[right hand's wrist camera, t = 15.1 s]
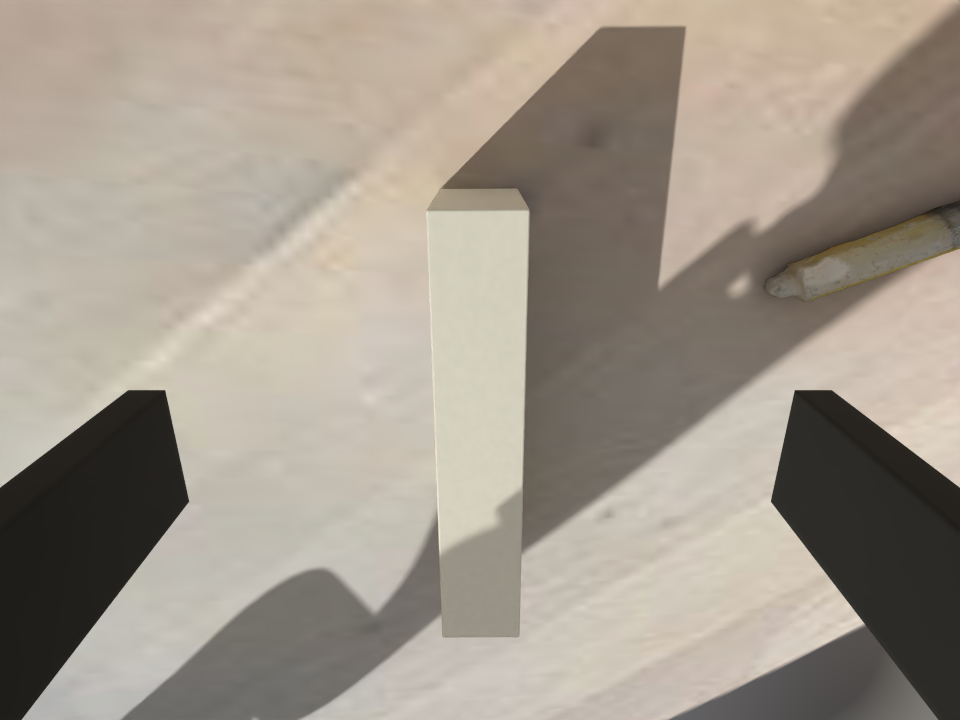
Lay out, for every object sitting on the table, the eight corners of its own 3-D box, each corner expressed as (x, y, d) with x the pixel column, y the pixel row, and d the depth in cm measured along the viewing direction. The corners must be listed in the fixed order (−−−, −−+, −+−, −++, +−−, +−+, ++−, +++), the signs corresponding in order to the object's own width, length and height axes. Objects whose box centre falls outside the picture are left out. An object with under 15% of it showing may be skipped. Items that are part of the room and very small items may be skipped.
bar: (439, 188, 33) (425, 210, 25) (518, 188, 33) (530, 209, 25) (449, 538, 42) (442, 638, 34) (511, 538, 42) (519, 637, 34)
